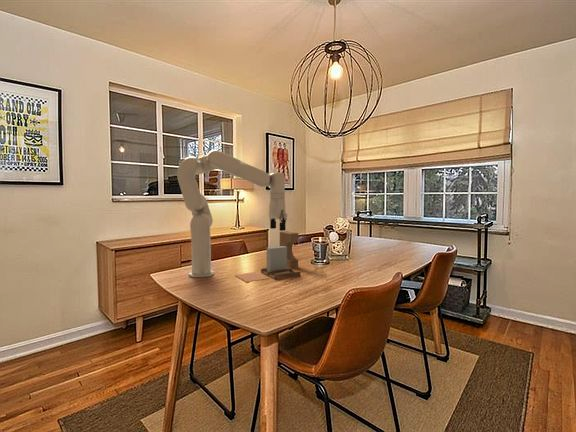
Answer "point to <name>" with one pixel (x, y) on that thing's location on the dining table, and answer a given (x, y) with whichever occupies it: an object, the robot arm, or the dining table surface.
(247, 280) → the terracotta mat
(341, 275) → the dining table surface
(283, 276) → the tray
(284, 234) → the decorative block
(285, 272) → the upper offcut slab
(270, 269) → the grey rectangular block
